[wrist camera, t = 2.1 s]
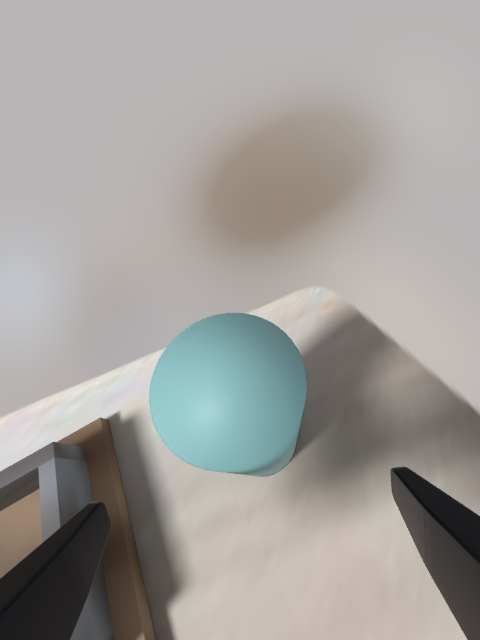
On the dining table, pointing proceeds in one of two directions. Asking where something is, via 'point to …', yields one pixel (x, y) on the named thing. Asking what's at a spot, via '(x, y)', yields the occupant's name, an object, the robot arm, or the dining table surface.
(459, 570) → the robot arm
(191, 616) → the dining table surface
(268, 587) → the dining table surface
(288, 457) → the post
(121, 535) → the brown and grey tray
